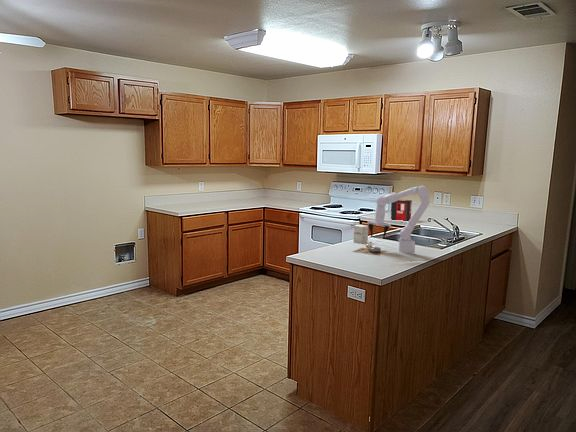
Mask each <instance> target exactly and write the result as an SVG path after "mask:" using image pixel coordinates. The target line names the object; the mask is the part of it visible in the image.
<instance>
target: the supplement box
mask: <svg viewBox="0 0 576 432" xmlns="http://www.w3.org/2000/svg"><path fill="white" fill-rule="evenodd" d="M368 240H369V225H366V224H365V225H364V224H355V225H353V244H363V245H364V244H366V245H367V244H368Z"/></svg>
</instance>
